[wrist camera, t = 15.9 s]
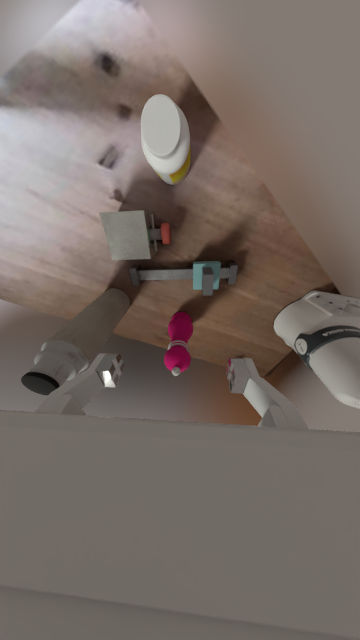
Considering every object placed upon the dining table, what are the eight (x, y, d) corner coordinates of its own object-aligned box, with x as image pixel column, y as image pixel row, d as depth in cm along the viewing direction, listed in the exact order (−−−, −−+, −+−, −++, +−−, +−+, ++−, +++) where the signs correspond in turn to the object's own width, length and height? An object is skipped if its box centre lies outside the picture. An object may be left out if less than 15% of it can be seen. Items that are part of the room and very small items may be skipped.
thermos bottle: (112, 315, 48) (39, 404, 25) (97, 292, 44) (-7, 374, 21) (134, 308, 46) (77, 399, 23) (121, 284, 42) (35, 365, 19)
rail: (234, 261, 37) (238, 265, 34) (231, 279, 40) (234, 284, 37) (133, 264, 39) (128, 268, 36) (137, 281, 42) (132, 286, 39)
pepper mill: (165, 319, 48) (151, 373, 31) (181, 305, 45) (175, 357, 28) (181, 333, 51) (176, 389, 34) (197, 320, 47) (201, 375, 31)
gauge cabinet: (153, 211, 33) (144, 210, 26) (158, 252, 37) (151, 258, 31) (117, 213, 33) (99, 212, 27) (125, 253, 38) (112, 260, 31)
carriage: (218, 259, 37) (225, 270, 29) (216, 283, 40) (221, 298, 32) (193, 260, 37) (193, 270, 29) (193, 283, 40) (193, 299, 33)
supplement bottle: (195, 142, 27) (198, 91, 16) (185, 190, 30) (181, 174, 20) (158, 128, 26) (135, 66, 15) (152, 178, 30) (130, 156, 19)
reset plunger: (169, 222, 32) (167, 223, 29) (171, 242, 34) (169, 245, 31) (117, 225, 33) (110, 226, 30) (122, 244, 35) (115, 247, 32)
